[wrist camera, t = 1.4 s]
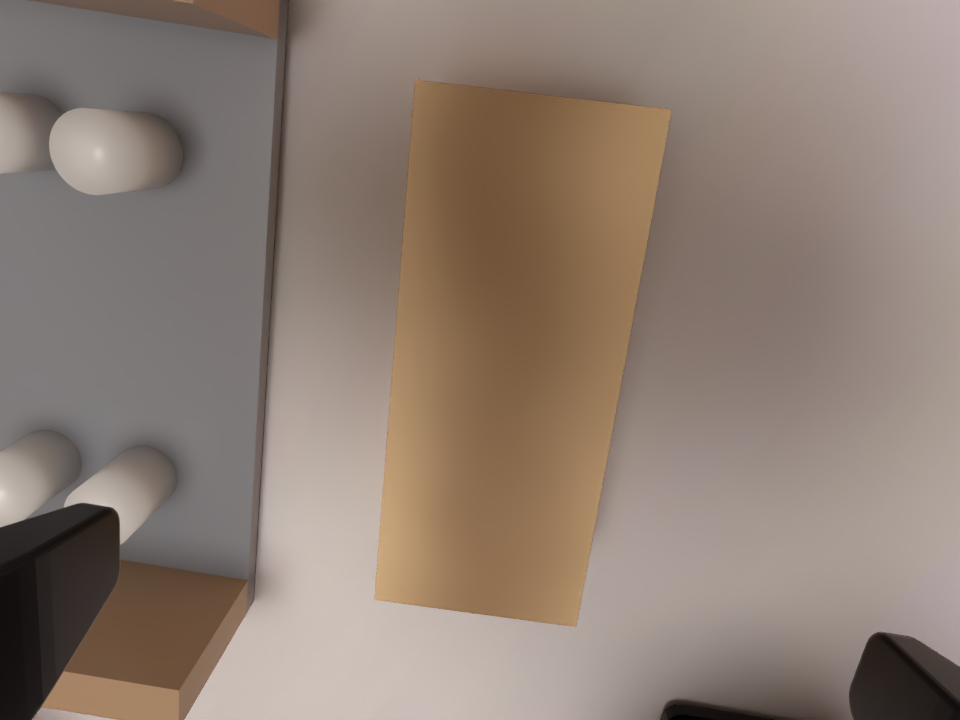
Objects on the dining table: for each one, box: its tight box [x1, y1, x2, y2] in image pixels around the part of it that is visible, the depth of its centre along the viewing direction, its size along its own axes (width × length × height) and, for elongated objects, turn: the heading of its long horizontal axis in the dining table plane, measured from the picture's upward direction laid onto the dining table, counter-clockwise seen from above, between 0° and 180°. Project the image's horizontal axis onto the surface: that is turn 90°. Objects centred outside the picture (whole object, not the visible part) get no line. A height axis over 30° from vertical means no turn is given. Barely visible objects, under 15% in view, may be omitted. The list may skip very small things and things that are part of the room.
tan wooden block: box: [374, 80, 672, 627], centre depth 17 cm, size 5×12×4 cm, turn 174°
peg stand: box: [0, 0, 288, 720], centre depth 17 cm, size 9×17×5 cm, turn 172°
